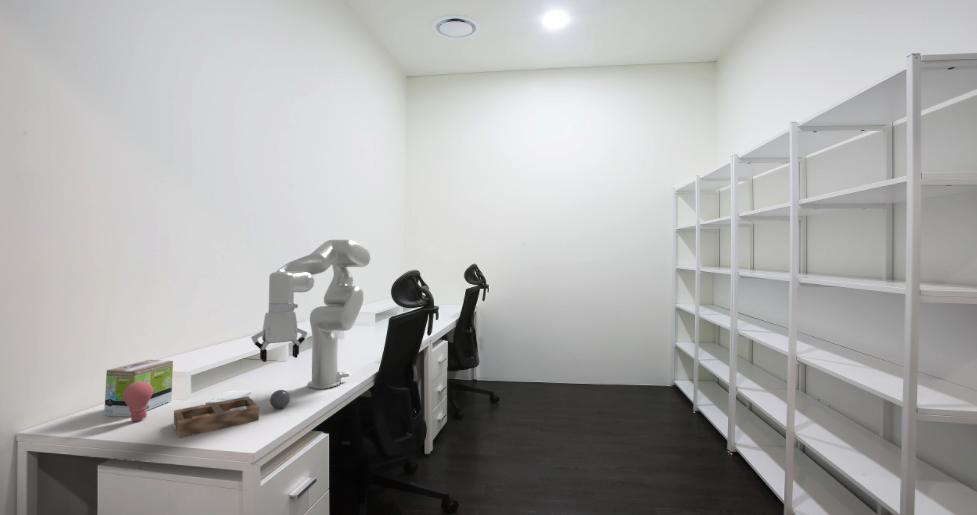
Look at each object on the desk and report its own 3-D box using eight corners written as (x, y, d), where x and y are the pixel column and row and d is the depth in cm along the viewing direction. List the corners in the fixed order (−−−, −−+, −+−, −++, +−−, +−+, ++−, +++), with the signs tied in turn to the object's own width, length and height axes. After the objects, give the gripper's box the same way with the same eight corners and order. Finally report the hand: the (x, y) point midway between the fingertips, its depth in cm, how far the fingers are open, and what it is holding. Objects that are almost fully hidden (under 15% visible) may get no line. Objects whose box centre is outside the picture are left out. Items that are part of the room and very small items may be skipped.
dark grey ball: (286, 403, 142) (286, 386, 142) (292, 408, 138) (292, 390, 138) (267, 407, 138) (267, 389, 138) (272, 412, 134) (272, 394, 134)
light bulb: (116, 422, 124) (117, 383, 124) (143, 414, 131) (144, 377, 131) (131, 426, 121) (131, 386, 122) (157, 418, 128) (158, 379, 128)
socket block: (248, 408, 137) (248, 395, 138) (258, 419, 128) (258, 405, 128) (173, 423, 124) (173, 409, 124) (178, 437, 114) (179, 422, 114)
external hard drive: (250, 395, 152) (228, 406, 140) (229, 394, 152) (205, 406, 140) (250, 390, 152) (228, 402, 140) (229, 390, 152) (205, 401, 140)
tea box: (133, 417, 128) (134, 370, 129) (103, 416, 129) (104, 369, 129) (173, 401, 144) (173, 359, 144) (146, 400, 144) (146, 358, 144)
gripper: (303, 306, 147) (302, 353, 146) (249, 309, 135) (248, 360, 135) (311, 307, 141) (310, 357, 141) (255, 311, 130) (253, 365, 129)
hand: (279, 359), depth 138 cm, fingers open, 9 cm apart
